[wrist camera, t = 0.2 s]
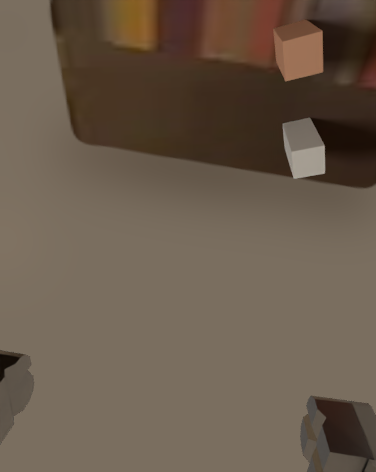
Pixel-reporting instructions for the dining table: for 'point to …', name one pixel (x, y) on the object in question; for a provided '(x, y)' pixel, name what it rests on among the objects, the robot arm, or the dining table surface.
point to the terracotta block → (299, 49)
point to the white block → (304, 148)
